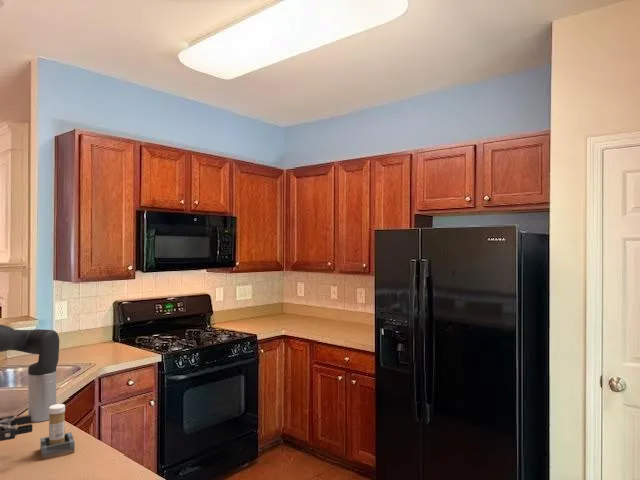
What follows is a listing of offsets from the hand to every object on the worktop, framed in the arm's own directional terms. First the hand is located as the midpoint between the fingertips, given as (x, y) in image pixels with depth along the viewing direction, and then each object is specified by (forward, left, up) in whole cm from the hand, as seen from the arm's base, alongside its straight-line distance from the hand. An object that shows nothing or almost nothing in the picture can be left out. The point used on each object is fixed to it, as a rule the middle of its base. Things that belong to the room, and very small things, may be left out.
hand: (31, 423), depth 147 cm
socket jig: (0, +7, -10) cm, 12 cm away
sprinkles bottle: (0, +7, -9) cm, 12 cm away
